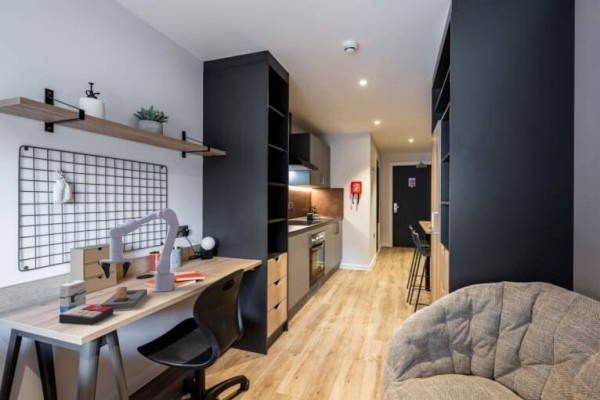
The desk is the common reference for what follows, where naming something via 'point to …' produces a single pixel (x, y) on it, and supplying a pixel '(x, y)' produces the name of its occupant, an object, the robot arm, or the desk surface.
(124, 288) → the peg
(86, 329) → the desk surface
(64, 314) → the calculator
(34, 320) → the desk surface
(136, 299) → the board
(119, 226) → the robot arm
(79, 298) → the ink box
